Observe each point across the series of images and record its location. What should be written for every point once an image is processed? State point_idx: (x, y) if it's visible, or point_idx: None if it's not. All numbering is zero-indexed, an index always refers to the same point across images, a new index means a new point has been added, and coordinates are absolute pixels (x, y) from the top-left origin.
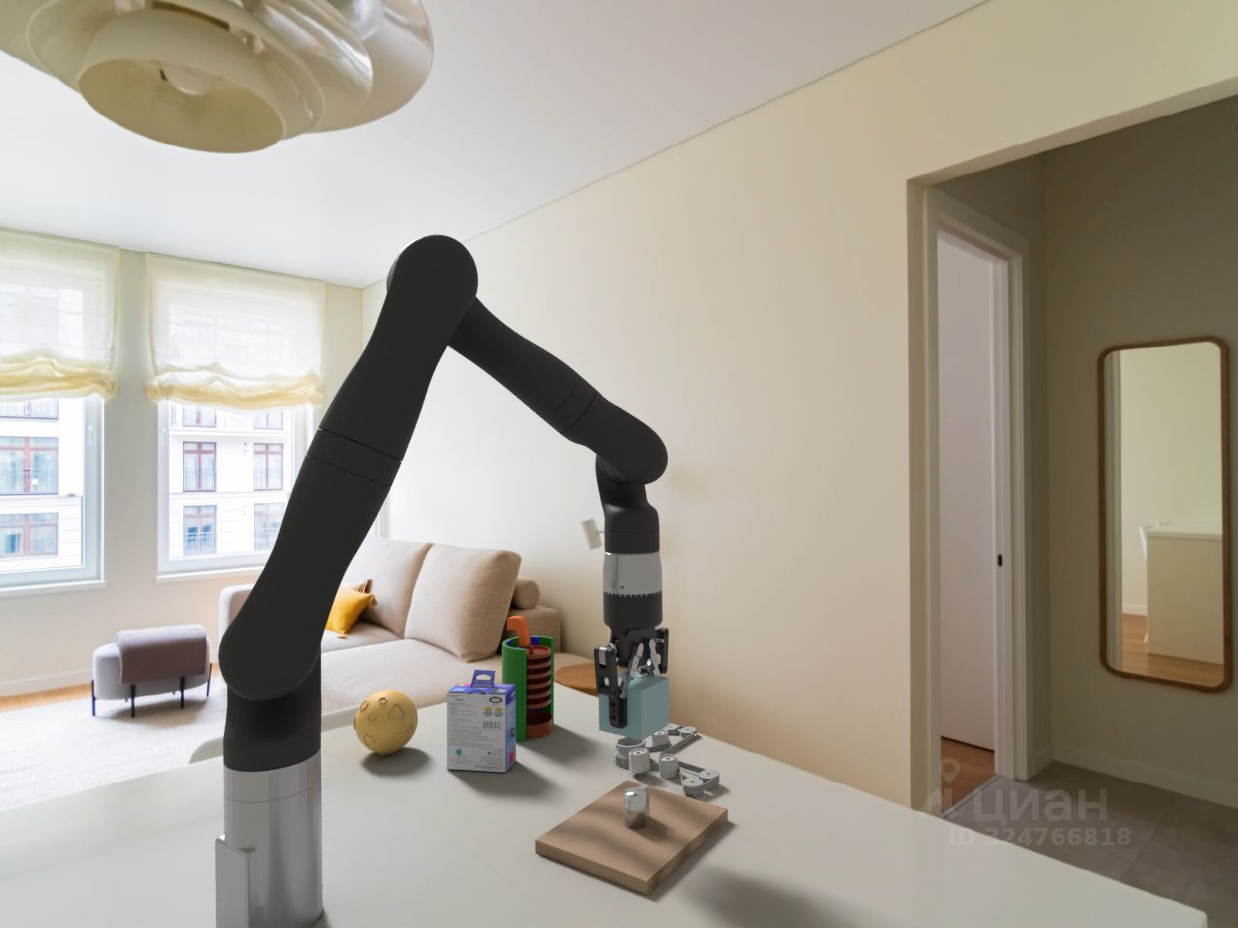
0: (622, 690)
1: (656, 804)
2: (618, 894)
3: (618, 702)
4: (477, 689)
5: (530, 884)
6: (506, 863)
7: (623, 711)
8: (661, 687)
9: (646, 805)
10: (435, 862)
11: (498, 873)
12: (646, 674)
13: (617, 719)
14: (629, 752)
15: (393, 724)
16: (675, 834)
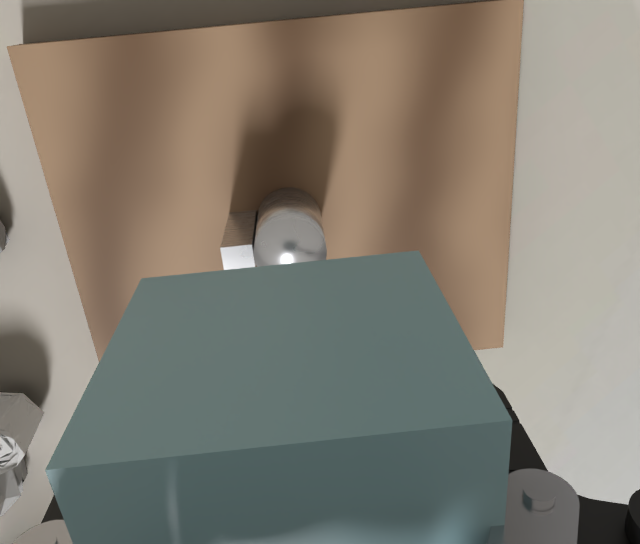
0: (578, 516)
1: (159, 240)
2: (542, 62)
3: (542, 469)
4: None
5: (604, 251)
6: (561, 343)
7: None
8: (184, 417)
9: (242, 224)
10: (625, 438)
11: (601, 328)
12: None
13: (507, 402)
14: (12, 465)
15: None
16: (263, 87)
